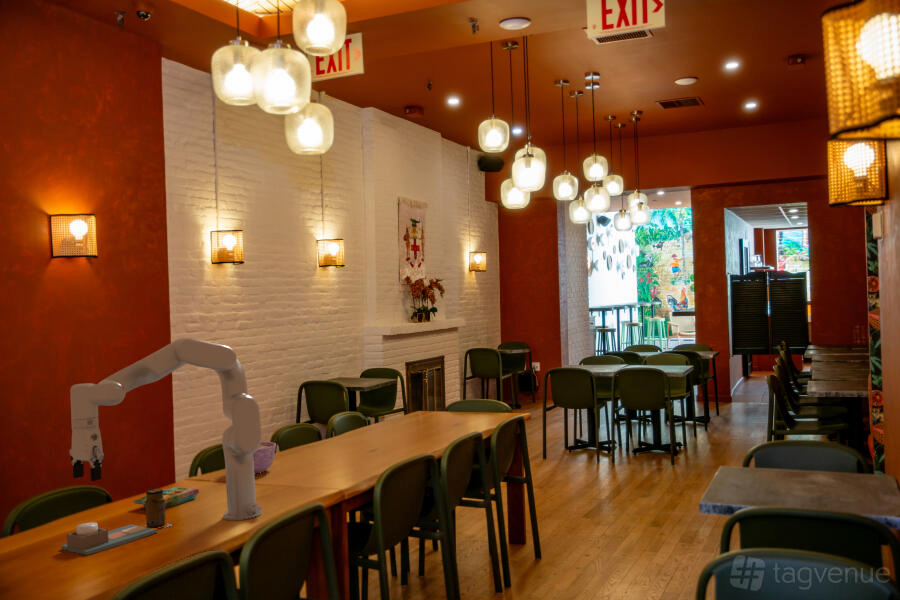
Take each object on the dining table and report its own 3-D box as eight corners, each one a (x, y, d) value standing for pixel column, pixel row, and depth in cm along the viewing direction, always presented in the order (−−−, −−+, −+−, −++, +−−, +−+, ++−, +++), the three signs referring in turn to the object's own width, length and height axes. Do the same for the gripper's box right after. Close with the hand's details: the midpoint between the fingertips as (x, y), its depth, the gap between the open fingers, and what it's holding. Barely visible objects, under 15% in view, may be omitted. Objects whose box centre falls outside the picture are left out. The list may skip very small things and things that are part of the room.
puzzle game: (198, 486, 292) (155, 500, 275) (199, 499, 292) (156, 513, 275) (177, 484, 298) (133, 497, 280) (177, 496, 298) (134, 510, 280)
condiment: (161, 521, 262) (159, 486, 262) (173, 525, 256) (171, 490, 256) (140, 527, 256) (138, 491, 256) (152, 531, 251) (150, 494, 251)
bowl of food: (221, 477, 327) (220, 450, 327) (244, 467, 346) (243, 441, 346) (264, 478, 322) (262, 450, 322) (285, 467, 341) (284, 441, 341)
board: (157, 533, 248) (156, 517, 248) (87, 555, 228) (86, 539, 228) (131, 527, 256) (130, 513, 256) (61, 549, 236) (60, 533, 236)
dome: (102, 534, 237) (101, 523, 237) (83, 539, 232) (83, 529, 232) (91, 531, 240) (90, 521, 240) (72, 537, 235) (72, 526, 235)
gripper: (112, 423, 235) (114, 478, 235) (81, 420, 245) (83, 473, 245) (89, 426, 229) (91, 484, 229) (58, 424, 239) (60, 478, 238)
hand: (87, 478), depth 237 cm, fingers open, 9 cm apart
